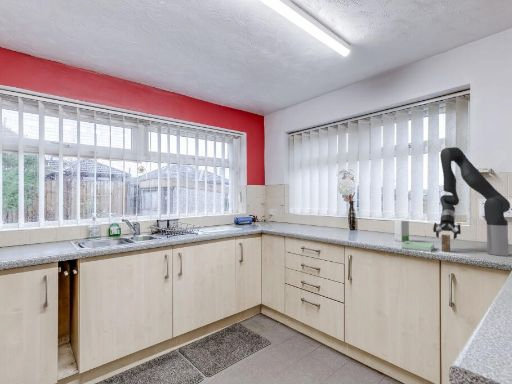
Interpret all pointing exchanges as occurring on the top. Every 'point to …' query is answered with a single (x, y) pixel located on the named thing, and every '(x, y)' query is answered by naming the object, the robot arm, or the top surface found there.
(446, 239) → the block
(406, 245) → the pale green tray
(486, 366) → the top surface
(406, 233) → the skincare box
